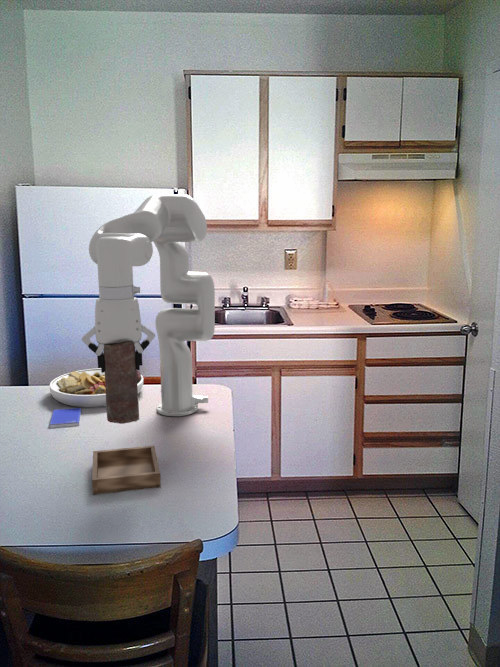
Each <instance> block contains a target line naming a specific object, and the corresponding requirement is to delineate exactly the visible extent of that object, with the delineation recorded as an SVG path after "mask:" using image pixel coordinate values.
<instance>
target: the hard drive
mask: <svg viewBox="0 0 500 667" xmlns="http://www.w3.org/2000/svg"><path fill="white" fill-rule="evenodd" d="M81 415H82V407H74V408H62V409H60V408H58V409H54V410H53V411H52V415H51V418H50V421H49V428H51V429H52V428H53V429H54V428H63V427H76V426H80V424H81V423H80V422H81Z"/></svg>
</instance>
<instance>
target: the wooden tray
mask: <svg viewBox="0 0 500 667" xmlns="http://www.w3.org/2000/svg"><path fill="white" fill-rule="evenodd" d="M91 473H92V477H91V479H92V480H91V483H92V484H91V486H92V495H100V494H101V495H102V494H110V493H120V492H130V491H139V490H149V489H157V488H158V489H159V488H161V471H160V465H159V460H158V456H157V451H156V446H155V445H145V446H135V447H124V448H123V447H122V448H112V449H104V450H103V449H102V450H93V451H92V472H91Z"/></svg>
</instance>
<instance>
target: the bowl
mask: <svg viewBox="0 0 500 667" xmlns="http://www.w3.org/2000/svg"><path fill="white" fill-rule="evenodd" d="M136 371H137V387H138V394H139V393H140V392H141V391H142V389H143V386H144V376H143V375H142V373H141V372H140V370H136ZM49 392H50V394H51V396H52V397H53V399H55V400H56V401H57V402H59V403H61V404H63V405H67V406H71V407H75V408H99V407H100V408H101V407H106V388H105V372H104V373H101V368H98V367H97V368H89V369H81V370H76V371H75V370H74V371H71V372H68V373H64V374H61V375H58V376H57V377H55V378H54V379H53V380H51V381H50V383H49Z"/></svg>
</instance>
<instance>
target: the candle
mask: <svg viewBox="0 0 500 667" xmlns="http://www.w3.org/2000/svg"><path fill="white" fill-rule="evenodd" d="M135 351H136V348H135V344H134V342H133V341H124V342H121V343H117V344H106V345H104V349H103V353H104V369H105V388H106V406H105V408H106V420H107V422H109V423H114V424H118V425H119V424H124V425H125V424H130V423H132V422H133V423H134V422H138V421H139V420H140V408H139V407H140V406H139V405H140V404H139V393H138V387H137V371H138V370H137V371H136V353H135Z"/></svg>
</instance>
